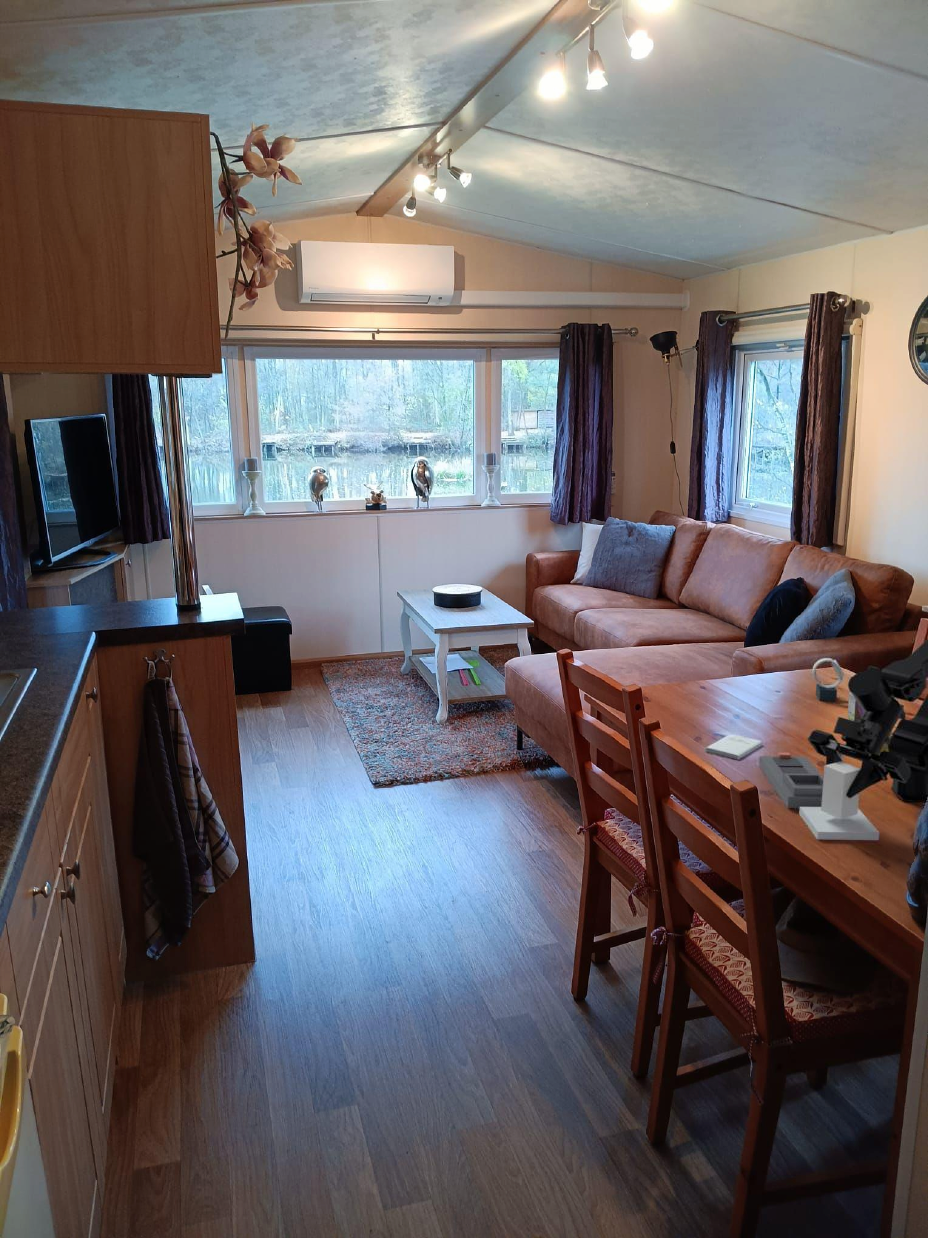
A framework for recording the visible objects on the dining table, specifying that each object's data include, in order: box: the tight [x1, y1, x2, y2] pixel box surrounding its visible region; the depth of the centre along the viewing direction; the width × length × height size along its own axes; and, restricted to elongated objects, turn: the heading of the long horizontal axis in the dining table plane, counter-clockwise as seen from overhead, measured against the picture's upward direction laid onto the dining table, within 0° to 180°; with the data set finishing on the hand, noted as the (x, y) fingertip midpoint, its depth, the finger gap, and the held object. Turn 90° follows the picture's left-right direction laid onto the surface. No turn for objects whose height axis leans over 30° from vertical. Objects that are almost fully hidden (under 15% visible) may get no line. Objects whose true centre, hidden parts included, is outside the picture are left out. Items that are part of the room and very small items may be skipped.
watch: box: [811, 657, 845, 702], centre depth 251 cm, size 6×8×11 cm
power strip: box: [758, 751, 824, 810], centre depth 193 cm, size 10×22×4 cm, turn 177°
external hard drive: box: [705, 733, 764, 761], centre depth 216 cm, size 2×8×12 cm
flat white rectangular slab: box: [798, 807, 880, 841], centre depth 175 cm, size 11×11×2 cm
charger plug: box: [821, 760, 861, 819], centre depth 173 cm, size 4×4×9 cm
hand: (836, 792), depth 173 cm, fingers closed on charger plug, 4 cm apart
